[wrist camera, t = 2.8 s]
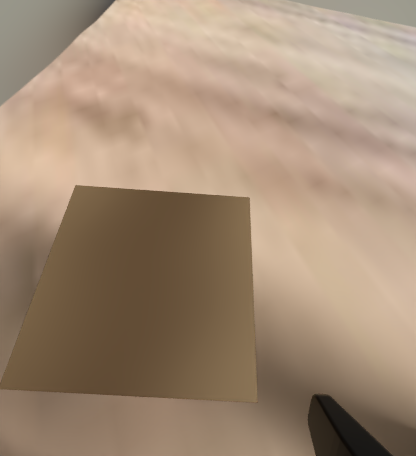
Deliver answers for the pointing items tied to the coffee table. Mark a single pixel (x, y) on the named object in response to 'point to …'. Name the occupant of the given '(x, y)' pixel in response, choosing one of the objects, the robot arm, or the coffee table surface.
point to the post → (143, 300)
